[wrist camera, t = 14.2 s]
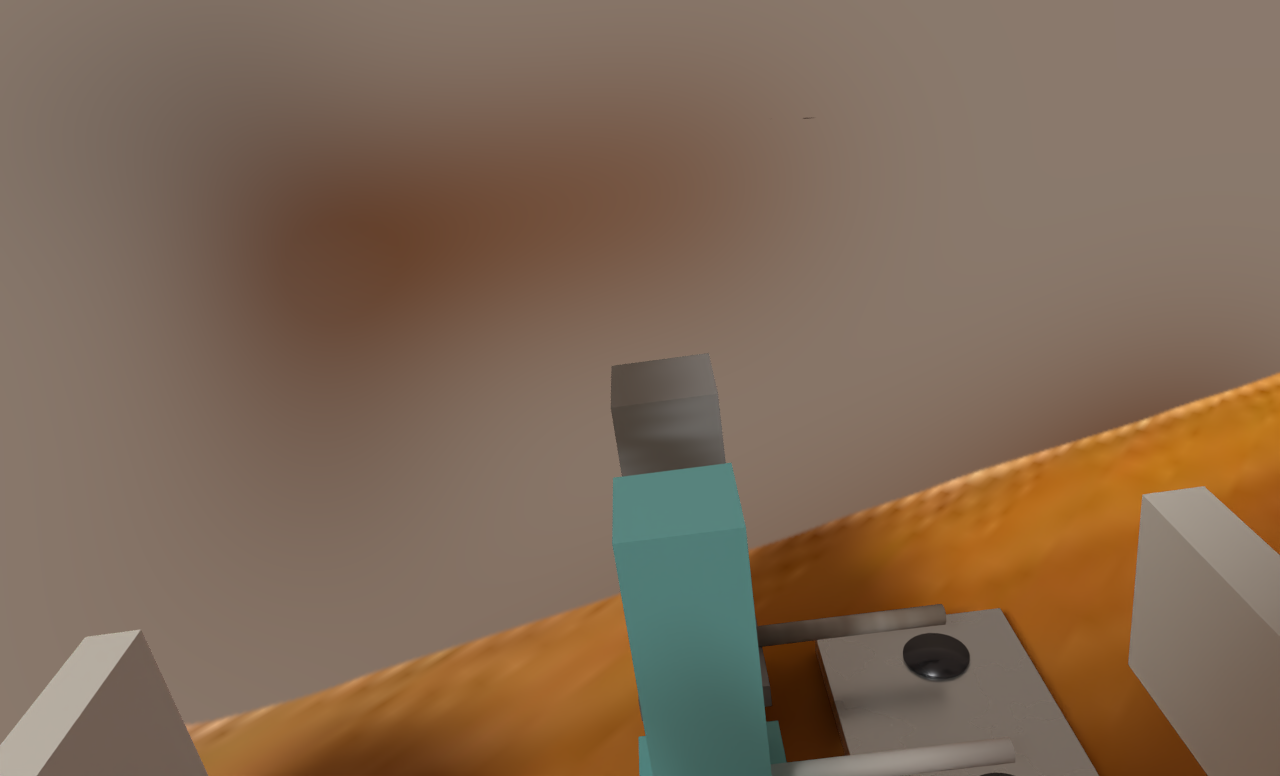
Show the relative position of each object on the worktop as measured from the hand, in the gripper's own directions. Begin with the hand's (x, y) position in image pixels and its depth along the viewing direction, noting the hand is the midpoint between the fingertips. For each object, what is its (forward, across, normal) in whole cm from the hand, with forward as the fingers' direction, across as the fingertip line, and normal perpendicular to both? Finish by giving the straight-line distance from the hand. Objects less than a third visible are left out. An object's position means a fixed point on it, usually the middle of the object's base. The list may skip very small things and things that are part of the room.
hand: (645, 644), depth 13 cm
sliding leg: (+13, +4, -18) cm, 23 cm away
